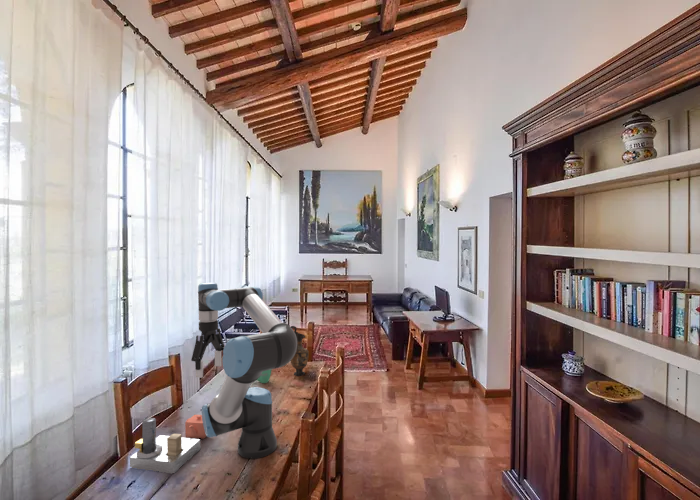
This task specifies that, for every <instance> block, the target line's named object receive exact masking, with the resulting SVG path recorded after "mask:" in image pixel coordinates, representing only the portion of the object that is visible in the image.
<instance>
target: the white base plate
mask: <svg viewBox="0 0 700 500" xmlns="http://www.w3.org/2000/svg"><path fill="white" fill-rule="evenodd" d="M169 436H170V435H161V434H160V435H158V436H156V444H157V445H161V446H162V452H161V453H160V454H159V455H157V456H155V457H153V458H149V459H139V458H137V452H138V451H136V452H135V453H134V454H132V455H131V456H130V457H129V468H130V467H132V468H137V469H136V470H140V469H145V470H144V471H148V470H153V471H152V472H156V471H159V472H158V473H164V472H166V473H165V474H172V473H174V474H175V473H176V472H177V471H179V470H180V469H181V468H182V467H183V466H184V465H185V464H186V463H187V462H188V461H190V459H192V458H193V457H194V456H195V455H196V454H197V453H198V452H199V451H200V450H201V439H199V438H187V437H182V452H181V453H180V454H179V455H178V456H176V457H175V456H167V438H168V437H169ZM195 453H196V454H195ZM194 454H195V455H194ZM193 455H194V456H193ZM192 456H193V457H192ZM187 460H188V461H187ZM186 461H187V462H186ZM185 462H186V463H185ZM184 463H185V464H184ZM183 464H184V465H183ZM182 465H183V466H182ZM181 466H182V467H181ZM180 467H181V468H180ZM132 468H131V469H132ZM179 468H180V469H179Z"/></svg>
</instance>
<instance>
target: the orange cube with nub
mask: <svg viewBox="0 0 700 500" xmlns="http://www.w3.org/2000/svg"><path fill="white" fill-rule="evenodd" d="M184 424H185V425H184V427H185V428H184V429H185V433H184V435H185V438H192V439H199V438H201V439H202V440H203V439H205V438H207V436H206V434H205V430H204V426H203V421H202V414H194V415H192V416H191V417H189V418H187V419H186V420H185V422H184ZM201 439H200V440H201Z"/></svg>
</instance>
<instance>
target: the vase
mask: <svg viewBox="0 0 700 500" xmlns="http://www.w3.org/2000/svg"><path fill="white" fill-rule="evenodd" d="M290 327H291V328H292V329H293V331H294V332H295V334H296V337H297V350H296V353H295V355H294V357H293V358H292V360H291V361H290V365H291V366H292V367H293V368H294V369H295V372H294V373H293V375H294V376H297V377H301V376H302V377H303V376H304V375H306V371H304V369H305V368H306V367H307V365H308V361H309V353H310V352H309V350H308V349H307V348H305V347H303V344H302V343H303V340H304V339H306V335H304V334H303V333H301V332H300V333H299V332H298V331H297V327H296V326H295V325H291V326H290Z"/></svg>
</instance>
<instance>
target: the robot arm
mask: <svg viewBox="0 0 700 500" xmlns="http://www.w3.org/2000/svg"><path fill="white" fill-rule="evenodd" d="M197 293H198V294H197V295H198V296H197V299H198V300H197V301H198V331H200V333H201V334H200V335H196V337H195V345H194V347H193V351H192V356H191V362H194V363H195V378H198V379H199V378H200V379H201V378H204V361H203V357H204V354H205V353H206V352H205V351H206V350H207V347H208V346H209V344H212V346H213V348H214V366H215V367H222V366H223V367H222V368H223V371H224V373H225V374H226V376H225V379H224V381H223V384H222V385H221V388H220V390H219V393H218V394H217V395H215V396H214V397H213V398H212V400H211V402H210V403H205V404H203V405H202V406H201V415H202V421H203V426H204V430H205V434H206V438H214V437H218V436H221V435H224V434H227V433H230V432H233V431H236V430H240V429H241V432H240V436H239V440H238V443H237V453H238V455H239V456H241V457H243V458H244V459H245V458H246V459H261V458H264V457H266V456H269V455H271V454H272V453H273V452H274V451H276V449H277V447H278V445H277V444H278V441H277V436H276V433H275V431H274V428H273V399H272V398H273V397H272V393H271V391H270V390H269V389H267V388H264V387H257V386H256V387H255V386H253V387H251V386H252V384H253V383H254V382H256V381H257V379H258V378H259V377H260V376H261V374H262V372H263V371H267V370H271V369H272V370H274V369H279V368H282V367H284V366H286V365H287V364H289V363H291V360H292V358H293V357H294V355H295V353H296V350H297V337H296V334H295V332H294V331H295V330H294V328H291V326H290V325H289V324H288V323H286V322H282V320H281V319H280V318H279V317H278V316H277V315H276V313H274V311H273V310H272V309H271V308H270V307H269V306H268V305H267V303H266V302H264V299H263V298H264V297H263V292H262V289H261V287H257V286H247V287H239V288H238V287H237V288H225V289H219V288H218V283H216V282H203V283H200V284H198V287H197ZM241 307H242V308H243V309H244V311H245V312H246V313H247V315H248V316H249V317H250V318H251V320H252V321H253V322H254V323H255V325H256V326H257V329H259V330H260V332H261V333H256V334H249V335H240V336H237V337H233V338H230V339H229V340H228V341H227V342H226V343H225V344H224V340H223V337H222V335H221V329H220V328H219V312H220V311H223V310H225V309H233V308H241Z"/></svg>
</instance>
